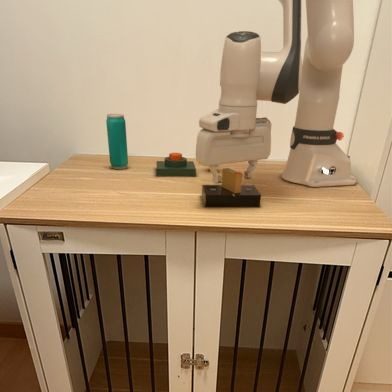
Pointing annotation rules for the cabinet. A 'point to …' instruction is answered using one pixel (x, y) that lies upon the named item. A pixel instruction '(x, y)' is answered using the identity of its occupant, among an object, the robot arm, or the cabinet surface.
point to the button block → (176, 167)
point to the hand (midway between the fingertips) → (232, 180)
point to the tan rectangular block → (231, 180)
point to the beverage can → (117, 141)
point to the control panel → (230, 196)
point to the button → (175, 156)
